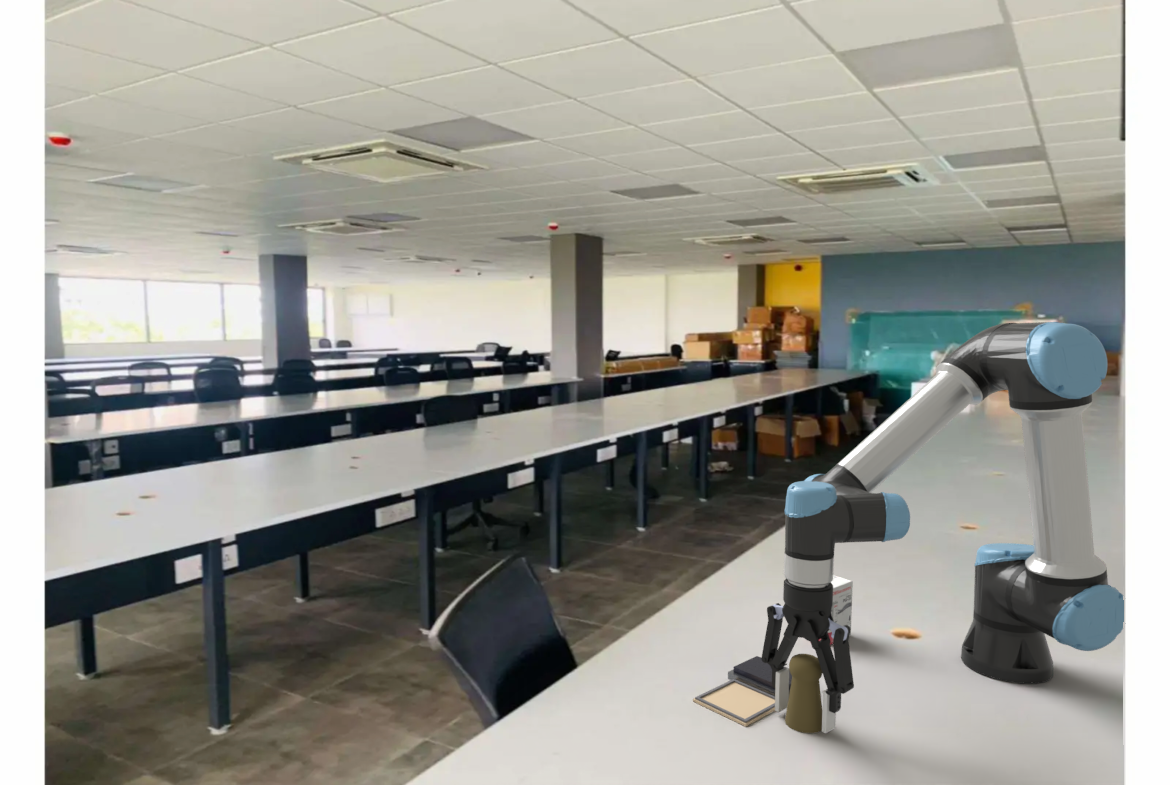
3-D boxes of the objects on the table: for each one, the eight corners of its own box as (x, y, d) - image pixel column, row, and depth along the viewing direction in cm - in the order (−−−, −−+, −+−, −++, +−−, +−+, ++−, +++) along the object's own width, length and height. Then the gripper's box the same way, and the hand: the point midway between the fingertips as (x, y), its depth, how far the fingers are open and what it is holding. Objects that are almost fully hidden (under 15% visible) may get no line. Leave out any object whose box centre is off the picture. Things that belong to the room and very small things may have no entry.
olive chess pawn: (816, 713, 126) (818, 648, 125) (829, 732, 120) (831, 665, 119) (780, 714, 125) (781, 649, 125) (791, 733, 119) (793, 665, 119)
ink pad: (812, 687, 135) (812, 675, 135) (784, 702, 129) (784, 690, 129) (755, 664, 144) (756, 653, 144) (727, 678, 138) (728, 666, 138)
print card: (785, 704, 129) (786, 700, 129) (745, 726, 121) (745, 722, 121) (733, 681, 137) (733, 677, 137) (692, 701, 130) (693, 697, 130)
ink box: (828, 646, 152) (829, 588, 151) (807, 638, 156) (808, 582, 155) (852, 635, 158) (854, 579, 157) (831, 628, 162) (832, 573, 161)
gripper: (882, 592, 115) (877, 736, 117) (767, 560, 131) (764, 688, 133) (856, 603, 110) (851, 754, 112) (740, 569, 126) (737, 702, 128)
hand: (804, 718), depth 123 cm, fingers open, 8 cm apart
